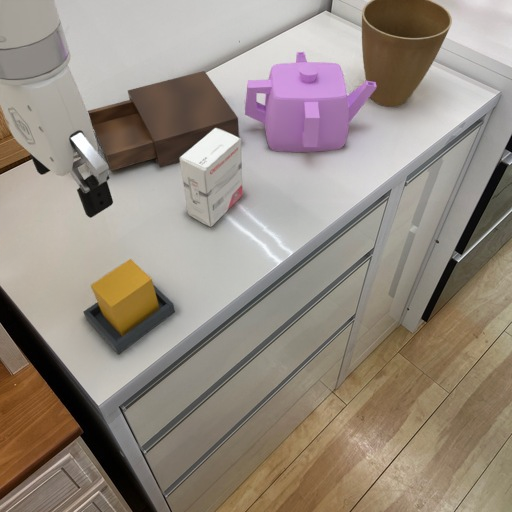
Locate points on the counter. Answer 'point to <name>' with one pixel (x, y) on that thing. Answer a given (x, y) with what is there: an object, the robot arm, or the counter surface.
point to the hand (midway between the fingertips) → (75, 188)
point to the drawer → (121, 135)
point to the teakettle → (305, 105)
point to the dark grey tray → (123, 342)
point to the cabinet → (182, 114)
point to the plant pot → (401, 45)
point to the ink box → (212, 176)
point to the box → (126, 296)
